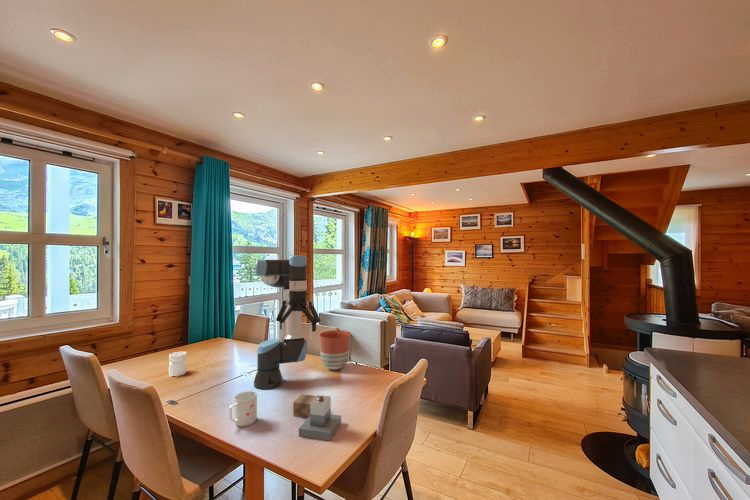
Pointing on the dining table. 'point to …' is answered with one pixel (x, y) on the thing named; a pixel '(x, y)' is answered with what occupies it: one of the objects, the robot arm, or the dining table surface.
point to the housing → (320, 410)
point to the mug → (244, 408)
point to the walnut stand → (302, 405)
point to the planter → (334, 348)
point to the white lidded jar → (177, 364)
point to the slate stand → (320, 429)
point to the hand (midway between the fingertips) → (297, 337)
